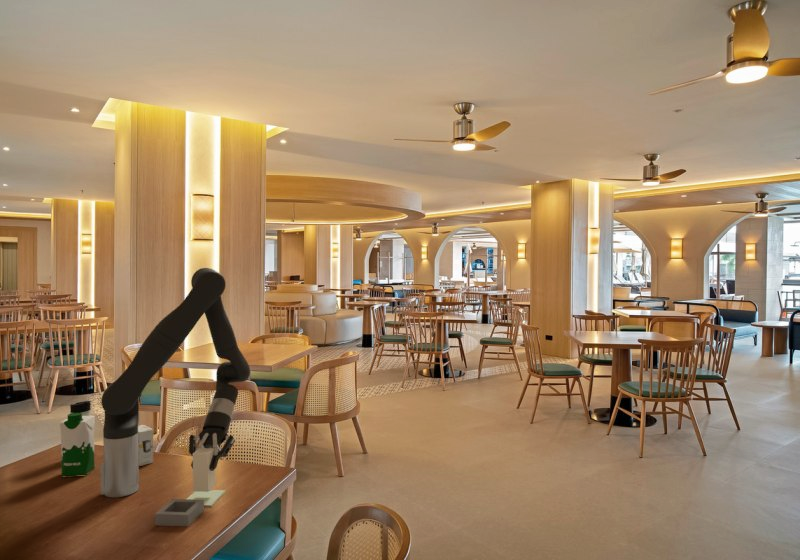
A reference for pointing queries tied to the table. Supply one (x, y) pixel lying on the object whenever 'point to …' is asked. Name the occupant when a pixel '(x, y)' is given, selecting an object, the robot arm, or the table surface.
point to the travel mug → (81, 408)
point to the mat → (207, 496)
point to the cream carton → (203, 470)
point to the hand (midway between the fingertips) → (202, 469)
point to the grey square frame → (179, 512)
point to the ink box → (145, 445)
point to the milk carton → (77, 444)
